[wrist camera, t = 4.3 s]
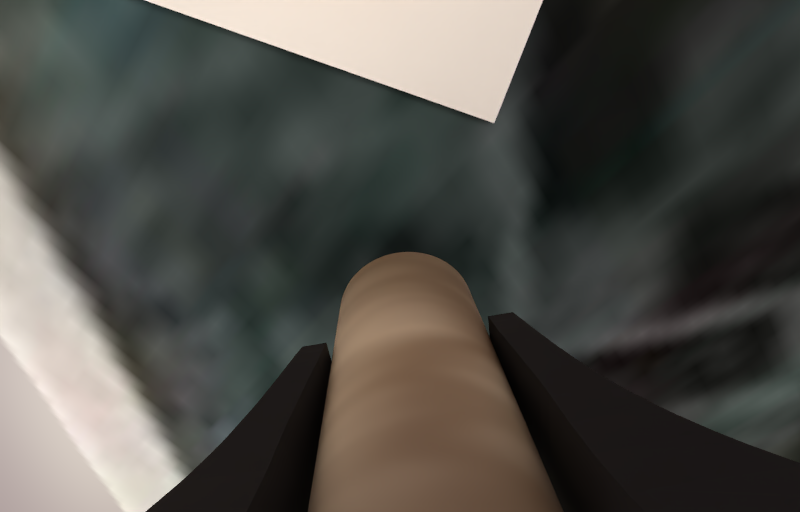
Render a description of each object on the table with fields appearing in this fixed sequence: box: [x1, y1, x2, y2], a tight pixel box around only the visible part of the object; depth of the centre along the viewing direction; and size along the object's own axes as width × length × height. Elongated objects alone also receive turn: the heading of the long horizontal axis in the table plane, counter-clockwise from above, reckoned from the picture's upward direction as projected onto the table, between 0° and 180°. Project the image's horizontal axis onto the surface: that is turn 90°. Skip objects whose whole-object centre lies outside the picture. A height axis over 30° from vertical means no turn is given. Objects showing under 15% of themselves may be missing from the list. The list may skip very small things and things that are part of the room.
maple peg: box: [308, 252, 563, 512], centre depth 9 cm, size 4×4×8 cm
